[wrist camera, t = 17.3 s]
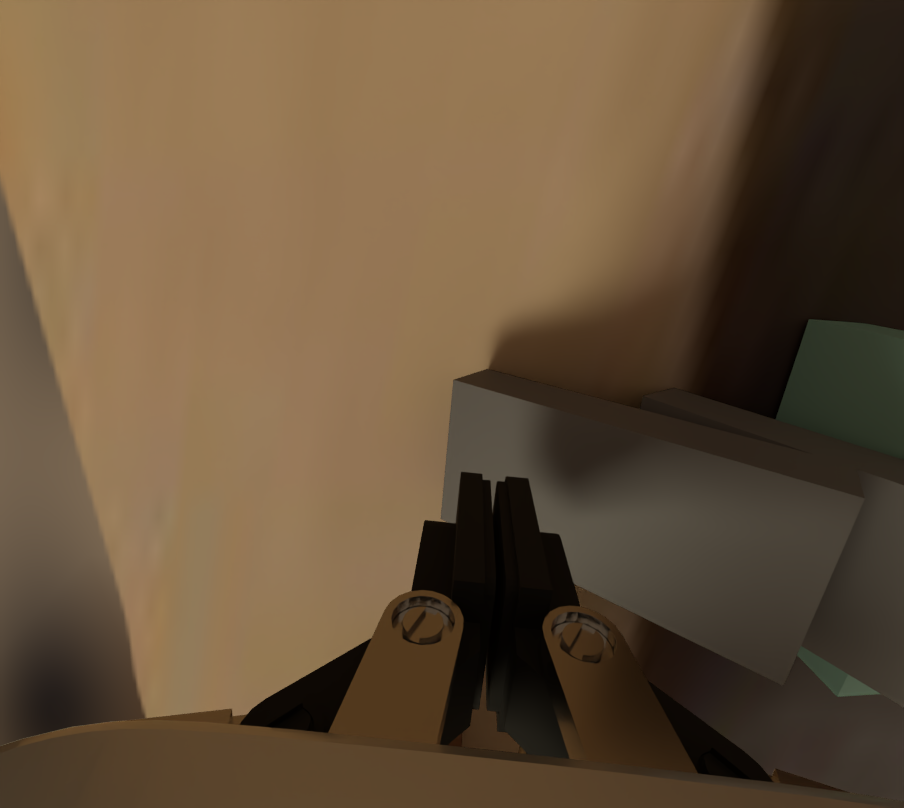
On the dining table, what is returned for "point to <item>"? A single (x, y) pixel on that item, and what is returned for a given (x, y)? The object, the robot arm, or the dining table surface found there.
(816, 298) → the dining table surface
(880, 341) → the domino
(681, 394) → the domino
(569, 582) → the robot arm
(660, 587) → the domino
